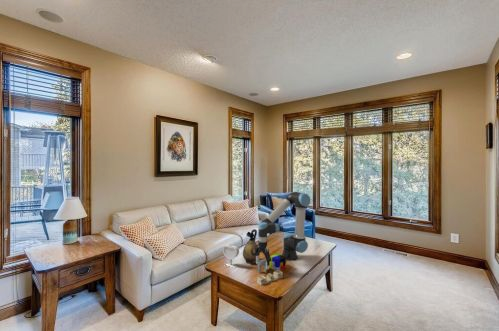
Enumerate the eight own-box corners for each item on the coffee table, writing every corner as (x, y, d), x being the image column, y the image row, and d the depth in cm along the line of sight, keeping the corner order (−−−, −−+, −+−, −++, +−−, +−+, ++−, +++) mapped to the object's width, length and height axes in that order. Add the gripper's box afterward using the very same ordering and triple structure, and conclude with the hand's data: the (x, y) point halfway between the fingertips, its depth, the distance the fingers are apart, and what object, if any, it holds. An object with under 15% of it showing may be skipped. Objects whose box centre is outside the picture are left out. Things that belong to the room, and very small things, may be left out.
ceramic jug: (251, 266, 210) (251, 233, 209) (239, 261, 220) (239, 229, 220) (263, 261, 222) (264, 229, 222) (251, 256, 233) (252, 226, 232)
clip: (265, 269, 204) (265, 258, 204) (267, 270, 202) (267, 259, 202) (257, 272, 199) (257, 260, 199) (259, 273, 197) (259, 262, 197)
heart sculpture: (222, 264, 214) (222, 244, 213) (225, 262, 218) (225, 243, 218) (236, 268, 206) (236, 248, 205) (239, 266, 210) (239, 246, 210)
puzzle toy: (277, 271, 201) (277, 259, 200) (269, 267, 209) (269, 256, 208) (285, 268, 206) (285, 257, 206) (277, 264, 214) (277, 253, 214)
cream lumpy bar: (278, 275, 194) (278, 270, 194) (282, 277, 190) (282, 272, 190) (257, 282, 182) (257, 277, 182) (260, 285, 178) (260, 280, 178)
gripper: (250, 237, 209) (250, 261, 209) (268, 246, 188) (268, 272, 188) (257, 236, 213) (257, 260, 213) (275, 244, 192) (275, 270, 192)
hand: (262, 266), depth 201 cm, fingers open, 13 cm apart
